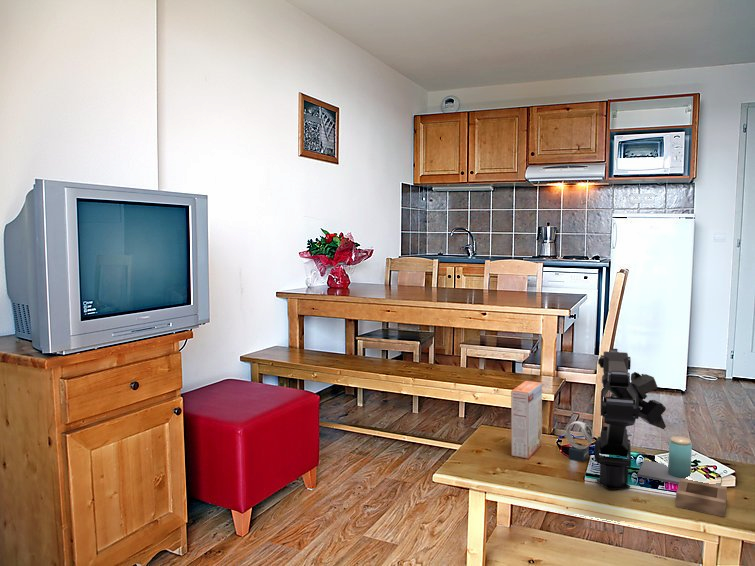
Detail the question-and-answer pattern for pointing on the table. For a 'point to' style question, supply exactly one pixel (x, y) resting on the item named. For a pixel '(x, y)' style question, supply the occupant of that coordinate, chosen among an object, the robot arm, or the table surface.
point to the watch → (577, 450)
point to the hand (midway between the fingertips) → (654, 422)
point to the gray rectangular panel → (658, 472)
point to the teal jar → (679, 457)
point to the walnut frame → (701, 497)
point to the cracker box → (526, 419)
